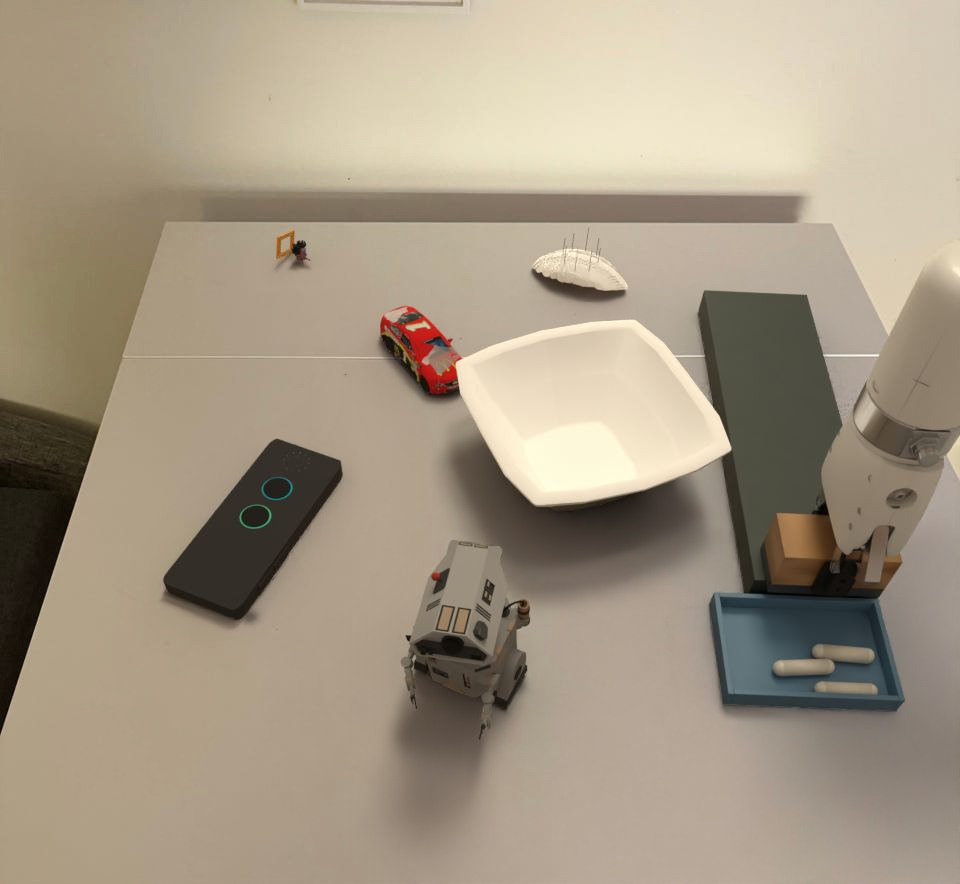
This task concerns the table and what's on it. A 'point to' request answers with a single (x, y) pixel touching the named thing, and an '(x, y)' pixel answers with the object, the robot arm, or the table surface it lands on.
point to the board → (768, 412)
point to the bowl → (589, 413)
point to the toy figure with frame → (292, 247)
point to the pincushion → (580, 269)
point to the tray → (800, 650)
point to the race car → (421, 349)
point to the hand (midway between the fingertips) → (822, 565)
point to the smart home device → (254, 529)
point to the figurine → (469, 629)
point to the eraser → (809, 555)
